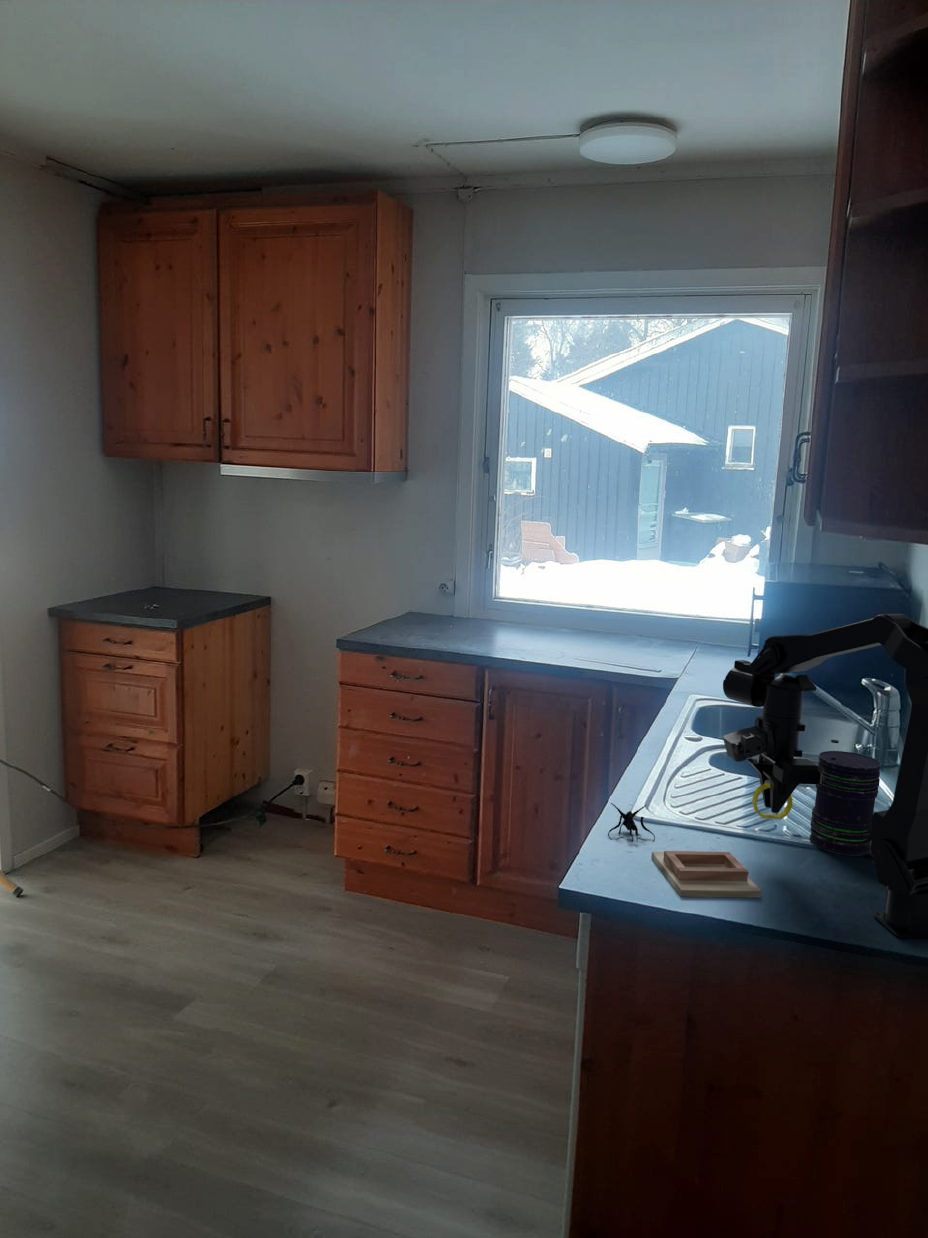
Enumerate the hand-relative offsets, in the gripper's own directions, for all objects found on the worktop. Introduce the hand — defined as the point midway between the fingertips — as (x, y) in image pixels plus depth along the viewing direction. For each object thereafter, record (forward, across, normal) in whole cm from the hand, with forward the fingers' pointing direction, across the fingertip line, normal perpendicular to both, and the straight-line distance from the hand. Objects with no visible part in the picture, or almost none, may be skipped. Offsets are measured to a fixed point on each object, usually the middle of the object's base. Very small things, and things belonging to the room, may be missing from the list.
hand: (771, 810), depth 149 cm
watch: (+2, 0, 0) cm, 2 cm away
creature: (+8, -9, -20) cm, 23 cm away
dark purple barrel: (+8, -7, +16) cm, 19 cm away
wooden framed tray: (+8, +7, -13) cm, 17 cm away
